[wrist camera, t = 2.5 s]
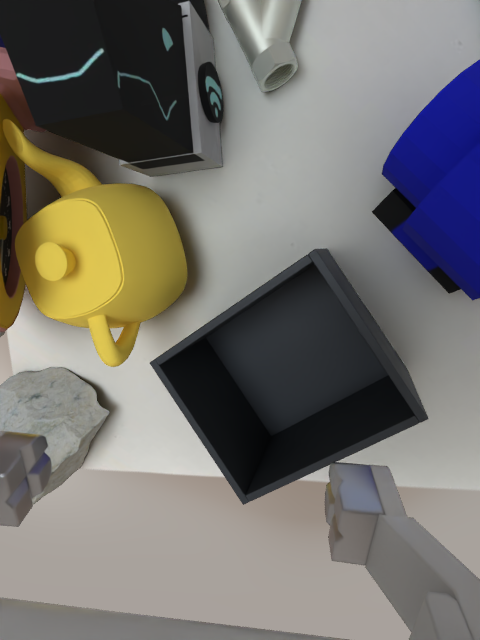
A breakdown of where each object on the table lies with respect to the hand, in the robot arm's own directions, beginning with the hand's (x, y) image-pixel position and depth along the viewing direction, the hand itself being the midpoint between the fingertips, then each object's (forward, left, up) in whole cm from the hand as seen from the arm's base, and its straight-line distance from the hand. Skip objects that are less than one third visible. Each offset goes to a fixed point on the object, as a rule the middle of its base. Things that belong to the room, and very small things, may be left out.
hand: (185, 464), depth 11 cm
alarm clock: (-16, -1, -27) cm, 32 cm away
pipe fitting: (-12, -21, -27) cm, 37 cm away
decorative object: (+2, -17, -18) cm, 25 cm away
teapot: (+11, -15, -27) cm, 33 cm away
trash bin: (+3, +3, -27) cm, 28 cm away
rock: (+33, -6, -28) cm, 44 cm away
